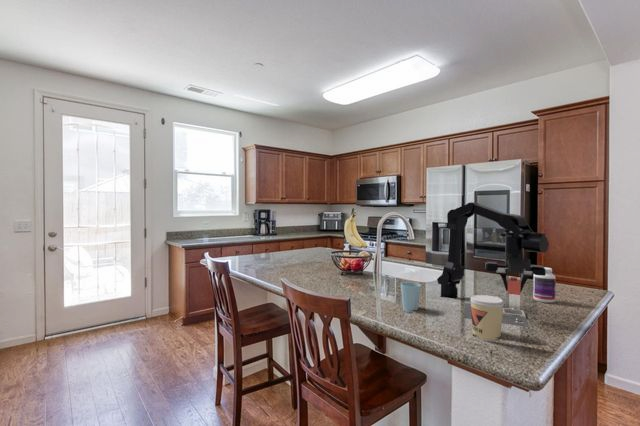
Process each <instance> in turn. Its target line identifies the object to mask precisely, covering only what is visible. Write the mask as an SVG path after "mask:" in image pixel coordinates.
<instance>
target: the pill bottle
mask: <svg viewBox="0 0 640 426" xmlns="http://www.w3.org/2000/svg"><path fill="white" fill-rule="evenodd" d="M543 267H544V266H543ZM544 268H545V270H546V276H541V275H535V274H534V273H533V274H532V275H533V277H532V285H533V286H532V297H533V298H532V299H533V300H535V301H537V302H540V303H545V304H546V303H547V304H548V303H550V304H551V303H554V302H556V282H557V281H556V279H557V278H556V275H555V274H554V273H553V269H552V267H546V266H545V267H544Z"/></svg>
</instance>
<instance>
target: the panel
mask: <svg viewBox="0 0 640 426" xmlns="http://www.w3.org/2000/svg"><path fill="white" fill-rule="evenodd" d="M463 308H464V309H463V317H462V318H464V319H469V320H472V314H471V302H470V303H468V302H464V307H463ZM502 324H503V325H511V326H518V327H526V328H530V326H529V324H528V322H527V319H526V314H525V312H524V310H522V309H518V307H515V306H512V307H511V308H509V307H503V315H502Z"/></svg>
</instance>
